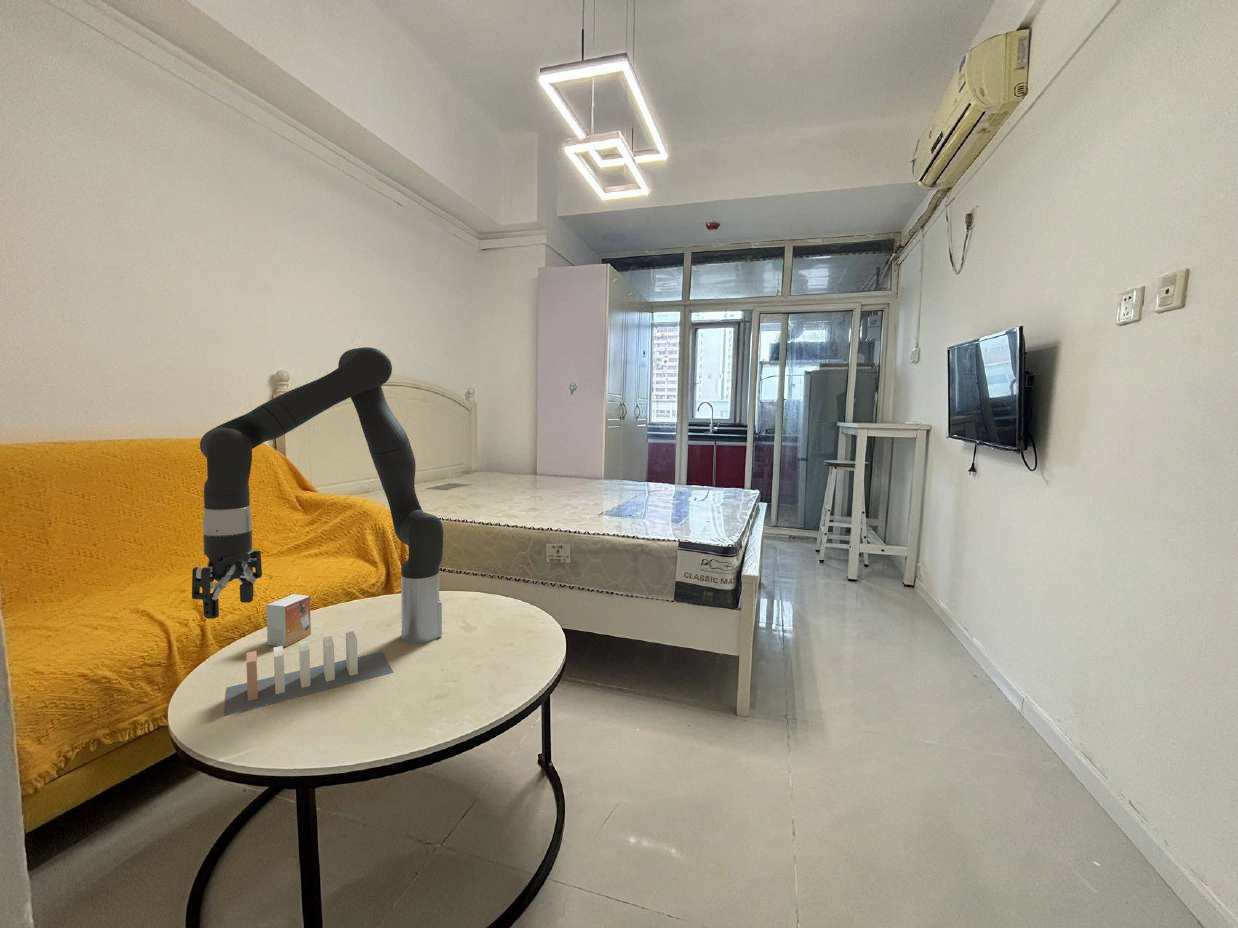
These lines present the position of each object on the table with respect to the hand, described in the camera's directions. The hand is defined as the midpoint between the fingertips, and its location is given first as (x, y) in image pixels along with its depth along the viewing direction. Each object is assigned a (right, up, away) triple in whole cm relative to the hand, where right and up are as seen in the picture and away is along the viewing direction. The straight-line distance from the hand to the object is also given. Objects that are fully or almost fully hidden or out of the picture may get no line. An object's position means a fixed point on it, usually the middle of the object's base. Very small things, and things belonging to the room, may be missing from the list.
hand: (230, 609), depth 99 cm
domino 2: (+6, -18, +5) cm, 20 cm away
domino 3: (+10, -18, +8) cm, 22 cm away
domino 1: (+3, -18, +3) cm, 19 cm away
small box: (-7, -16, +28) cm, 33 cm away
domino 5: (+17, -18, +13) cm, 28 cm away
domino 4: (+13, -18, +11) cm, 25 cm away
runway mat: (+11, -18, +9) cm, 23 cm away
